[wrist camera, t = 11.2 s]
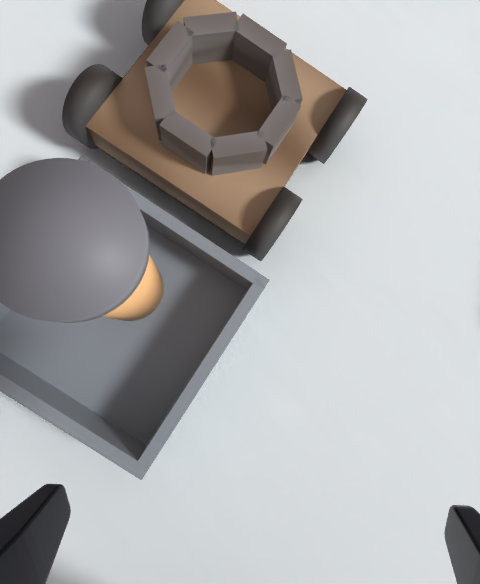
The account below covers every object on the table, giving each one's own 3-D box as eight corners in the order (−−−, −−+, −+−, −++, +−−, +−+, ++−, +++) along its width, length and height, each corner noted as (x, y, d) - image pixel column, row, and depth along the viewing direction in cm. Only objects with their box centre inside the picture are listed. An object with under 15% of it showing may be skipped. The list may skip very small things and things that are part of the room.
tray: (150, 456, 21) (141, 480, 18) (-24, 345, 21) (-69, 347, 17) (258, 288, 23) (269, 279, 19) (99, 183, 22) (81, 155, 19)
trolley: (255, 267, 23) (272, 248, 18) (77, 148, 22) (43, 95, 17) (348, 125, 24) (386, 71, 20) (183, 12, 24) (180, -71, 19)
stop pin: (141, 344, 21) (81, 354, 10) (71, 299, 21) (-67, 260, 10) (186, 276, 21) (177, 217, 11) (119, 233, 21) (39, 127, 10)
